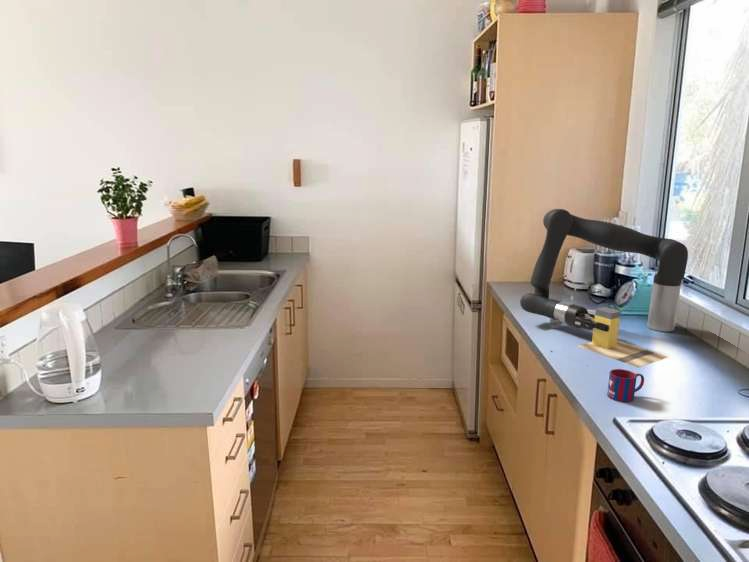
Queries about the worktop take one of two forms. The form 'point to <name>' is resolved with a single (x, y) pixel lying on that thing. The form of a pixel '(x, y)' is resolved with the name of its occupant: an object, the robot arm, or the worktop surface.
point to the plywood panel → (626, 353)
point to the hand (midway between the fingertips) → (613, 327)
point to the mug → (623, 385)
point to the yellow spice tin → (611, 319)
